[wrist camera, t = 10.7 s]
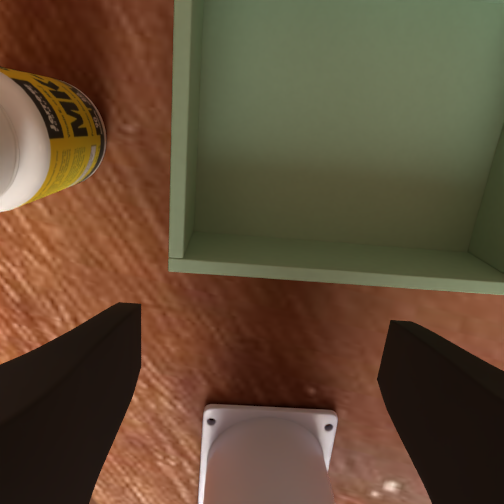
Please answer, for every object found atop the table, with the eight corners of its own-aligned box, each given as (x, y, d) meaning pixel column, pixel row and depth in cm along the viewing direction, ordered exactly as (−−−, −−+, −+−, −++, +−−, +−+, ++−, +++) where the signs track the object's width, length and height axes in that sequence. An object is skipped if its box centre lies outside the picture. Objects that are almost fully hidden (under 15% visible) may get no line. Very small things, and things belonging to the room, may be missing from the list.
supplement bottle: (129, 127, 18) (43, 137, 10) (73, 204, 19) (-44, 267, 11) (36, 52, 17) (-141, -4, 9) (-17, 138, 18) (-217, 156, 10)
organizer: (470, 261, 21) (527, 297, 17) (182, 239, 20) (167, 271, 16) (546, -4, 17) (646, -43, 13) (192, -46, 16) (176, -102, 12)
